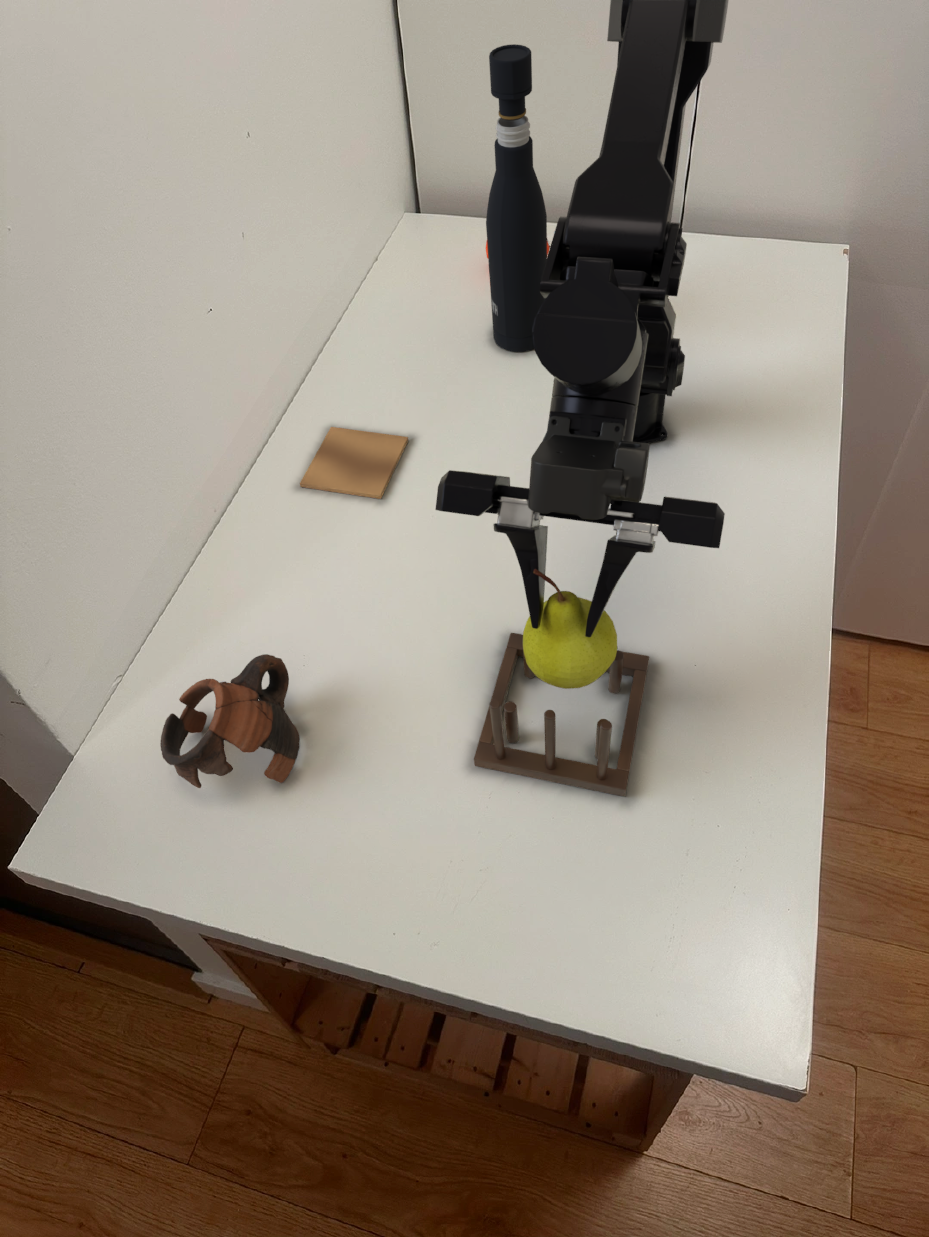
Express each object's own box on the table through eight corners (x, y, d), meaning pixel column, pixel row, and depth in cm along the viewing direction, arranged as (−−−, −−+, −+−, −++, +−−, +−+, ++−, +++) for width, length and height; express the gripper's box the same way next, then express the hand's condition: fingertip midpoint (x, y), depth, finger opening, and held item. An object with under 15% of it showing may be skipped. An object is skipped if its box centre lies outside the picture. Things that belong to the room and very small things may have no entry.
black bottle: (557, 328, 103) (558, 43, 79) (530, 358, 100) (522, 72, 76) (511, 314, 105) (498, 34, 81) (483, 343, 102) (461, 61, 78)
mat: (331, 430, 95) (330, 426, 95) (408, 440, 93) (408, 436, 93) (300, 487, 90) (299, 483, 90) (381, 499, 88) (380, 495, 88)
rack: (511, 640, 76) (506, 574, 69) (648, 663, 73) (658, 598, 66) (474, 766, 69) (465, 707, 62) (625, 797, 66) (633, 740, 59)
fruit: (629, 642, 67) (626, 543, 57) (603, 717, 64) (595, 624, 54) (545, 623, 69) (528, 524, 60) (516, 694, 66) (493, 601, 56)
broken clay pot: (275, 821, 68) (193, 785, 63) (213, 795, 75) (133, 760, 69) (339, 684, 72) (266, 638, 66) (275, 670, 78) (203, 628, 73)
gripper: (425, 374, 52) (398, 628, 54) (749, 406, 47) (701, 679, 50) (469, 393, 62) (444, 605, 65) (736, 421, 58) (698, 646, 61)
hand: (561, 632), depth 60 cm, fingers closed on fruit, 3 cm apart
